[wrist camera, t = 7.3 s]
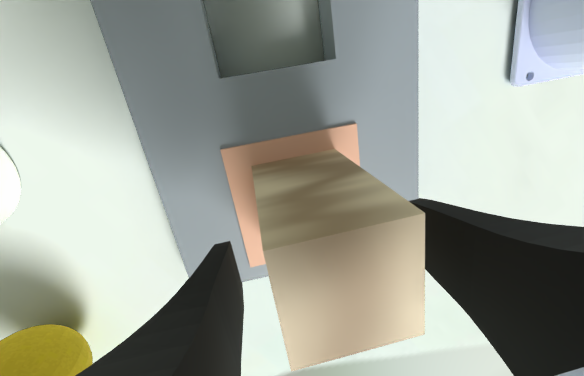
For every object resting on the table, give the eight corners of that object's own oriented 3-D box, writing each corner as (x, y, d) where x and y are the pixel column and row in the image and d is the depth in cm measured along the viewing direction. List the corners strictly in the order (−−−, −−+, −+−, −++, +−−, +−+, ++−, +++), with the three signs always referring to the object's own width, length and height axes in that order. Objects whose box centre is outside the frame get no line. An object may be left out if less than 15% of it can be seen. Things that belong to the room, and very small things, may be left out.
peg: (334, 148, 15) (425, 213, 8) (343, 222, 17) (424, 334, 9) (251, 165, 15) (263, 251, 7) (267, 240, 16) (291, 371, 9)
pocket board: (394, -110, 14) (421, -143, 12) (401, 225, 20) (420, 241, 18) (82, -75, 12) (50, -106, 10) (199, 272, 19) (194, 295, 17)
